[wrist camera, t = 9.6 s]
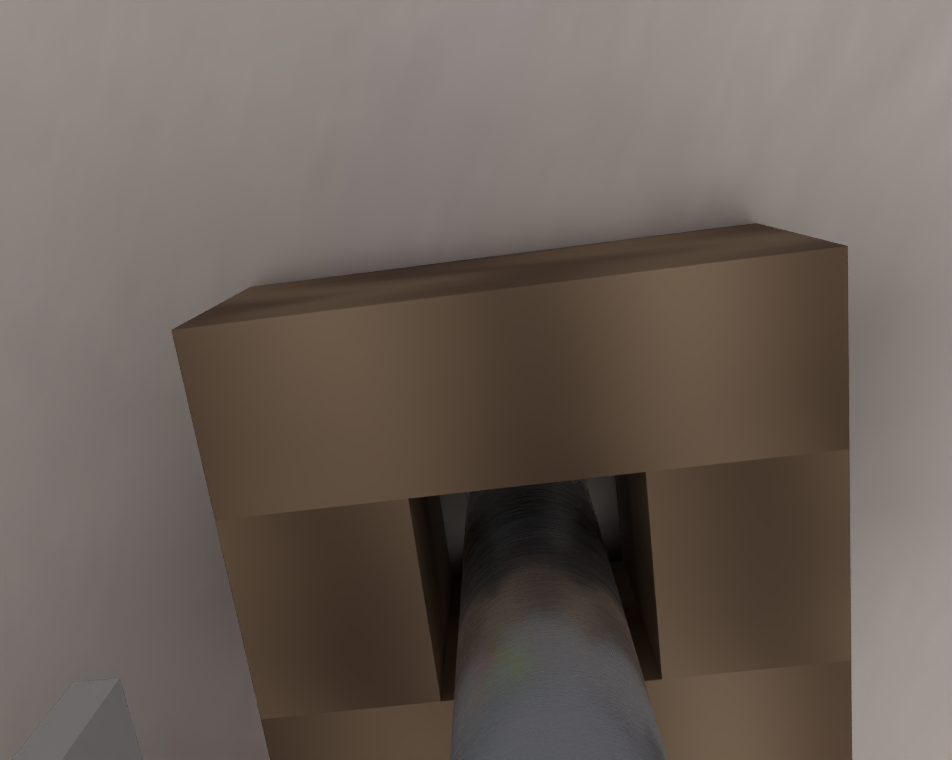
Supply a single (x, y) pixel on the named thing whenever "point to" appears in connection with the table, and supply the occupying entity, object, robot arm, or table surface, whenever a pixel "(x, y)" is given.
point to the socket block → (540, 478)
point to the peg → (545, 636)
